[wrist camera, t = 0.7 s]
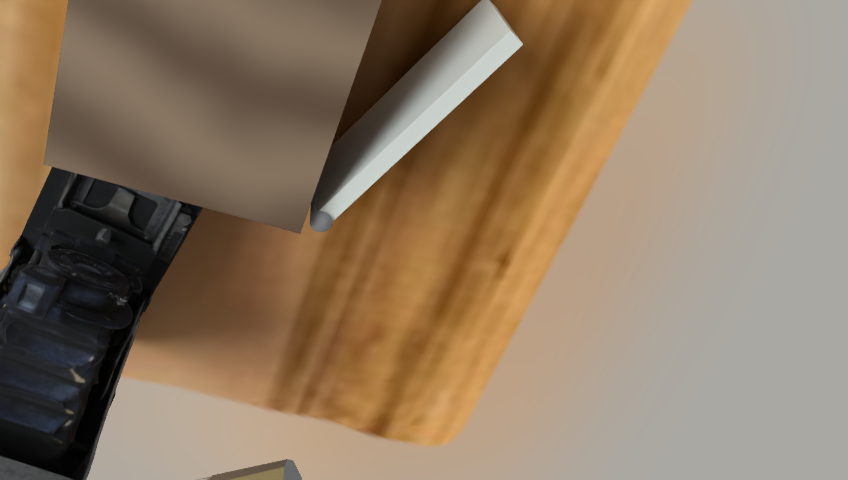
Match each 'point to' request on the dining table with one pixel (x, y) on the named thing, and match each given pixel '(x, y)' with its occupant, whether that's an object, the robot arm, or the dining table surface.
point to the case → (207, 98)
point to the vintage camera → (76, 316)
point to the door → (412, 109)
